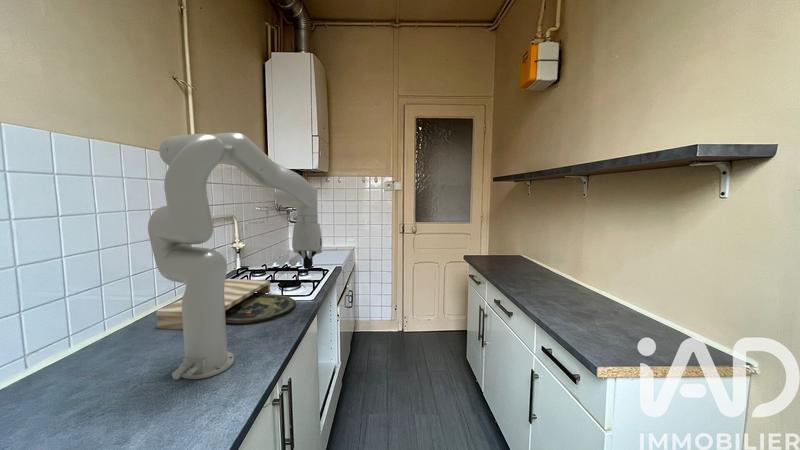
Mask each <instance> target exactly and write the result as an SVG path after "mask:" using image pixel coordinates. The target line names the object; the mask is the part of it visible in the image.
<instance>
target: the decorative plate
mask: <svg viewBox="0 0 800 450" xmlns="http://www.w3.org/2000/svg"><path fill="white" fill-rule="evenodd" d="M254 295H255V296H254ZM296 305H297V303H296V301H295V299H293V298H292V297H290V296H288V295H283V294H276V293H275V294H272V293H270V294H252V295H250V296H249V297H247V298H245V299H244V300H242V301H240V302H239V303H237V304H235V305H234V306H232V307H230V308H229V309H227V310H225V318H226V326H250V325H259V324H264V323H268V322H271V321H276V320H279V319H281V318H283V317H285V316H288V315H289V314H291V313H292V312H293V311H294V310H295V309H296Z"/></svg>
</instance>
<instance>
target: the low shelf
mask: <svg viewBox="0 0 800 450" xmlns="http://www.w3.org/2000/svg"><path fill="white" fill-rule="evenodd" d="M255 292H257V293H269V292H270V293H271V280H270V279H245V278H238V279H237V278H226V279H225V287H224V301H225V310H227V309H229V308H230V307H232V306H234V305H235V304H237V303H239V302H240V301H242V300H244V299H245V298H247V297H249V296H251V295H255V294H254V293H255ZM155 314H156V325H157V326H156V328H157V329H165V330H167V329H170V330H183V320H182V298H181V299H180V300H179V299H178V300H177V301H175V302H173V303H170V304H169V305H166V306H164V307H162V308H160V309H157V310H156V311H155Z"/></svg>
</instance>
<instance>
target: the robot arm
mask: <svg viewBox="0 0 800 450" xmlns="http://www.w3.org/2000/svg"><path fill="white" fill-rule="evenodd" d="M158 149H159V150H158V151H159V152H158V153H159V157H160V158H161V160H162V161H163V163H164V164H166V165H167V167H168V168H167V170H166V173H165V175H164V176H165V177H164V180H163V184H164V185H163V186H164V187H163V189H164V195H165V201H166V205H163V206H160V207H158V208H156V210H154V211H153V212H152V214H151V215H150V217H149V219H148V222H147V232H148V237H149V238H148V239H149V242H150V246H151V249H152V254H153V257H154V261H155V264H156V265H155V266H156V267H157V270H158V272H159V273H160V275H161V276H162V278H164V279H166V280H168V281H171V282H175V283H180V284H185V289H184V291H183V295H182V298H181V299H182V320H183V329H182V331H183V334H182V335H183V347H184V358H182V363H181V364H180V365H179V366H178V368H177V369H176V370H175V371H173V372H172V373H171V377H172V378H173V379H174V380H178V379H180V378H184V379H186V380H200V379H207V378H211V377H213V376H216V375H218V374H221V373H224V372H225V371H227V370H228V369H229V368H230V367H231V366H232V365H233V364H234V363H235V355H234V354H233V352H230V351H228V343H227V325H226V318H225V301H224V287H225V280H226V279H227V278H226V277H227V272H228V264H227V260H226V258H225V257H224V255H223V254H221V253H220V252H219V251H217V250H215V249H212V248H208V247H207V248H206V247H200V246H199V247H198V246H193V245H201V244H204V243H206V242H208V241H209V240H210V239H211V238H212V236H213V233H214V225H213V219H212V213H211V208H210V203H209V198H208V197H209V196H208V190H207V183H208V179H209V177H210V175H211V173H213V171H214V169H215V168H216V167H217V166H218V165H223V164H226V165H232V166H234V167H235V168H237V169H238V170H239V171H240V172H241V173H242V174H244V175H246V177H248V178H249V180H250V179H251V181H253V182H254V183H256V184H258V185H260V186H264V187H267V188H271V189H276V190H275V191H274V200H275V202H276V203H277V204H278V205H279V206H282V207H287V208H296V212H295V213H296V214H295V216H292V220H293V221H295V223H294V224H293V229H292V240H291V247H292V252H293V253H295V254H298V255H300V257H301V258H302V263H303V268H304V270H310V269H312V267H313V263H314V262H313V260H314V259H313V258H314V256H315V255H318V254H321V253H322V252H323V249H322V247H323V239H322V230H321V225H320V223H319V222H318V189H317V187H315V186H312V184H311V183H310V182H309V181H307V180H306V179H305V177H303V176H302V175H300V174H299V173H297V172H295V171H294V170H291V169H289V168H287V167H285V166H283V165H281V164H279V163H276V162H275V161H273V159H271V158H270V157H269V156H268V155H267V154H266V153H265V152H264V150H261V148H259V147H258V146H257V145H256V144H255V143H254V142H253V141H252V140H251V139H250V138H249V137H248V136H246V135H245V134H243V133H242V132H241V133H240V132H223V133H221V132H220V133H215V134H214V133H212V134H209V133H192V134H183V135H180V134H179V135H173V136H168V137H167V138H165V139H164V140H162V141H161V143H160V146H159V148H158Z"/></svg>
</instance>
